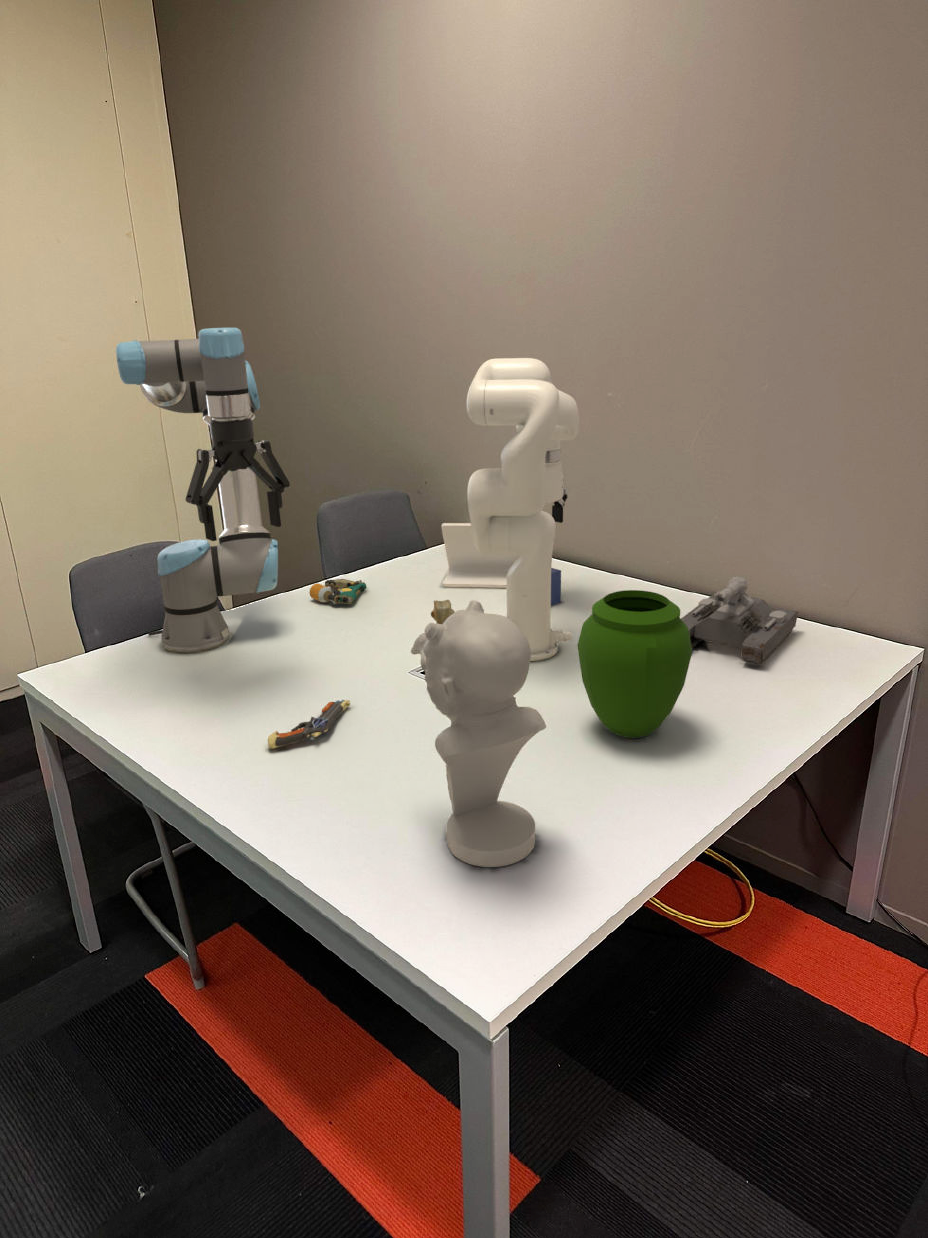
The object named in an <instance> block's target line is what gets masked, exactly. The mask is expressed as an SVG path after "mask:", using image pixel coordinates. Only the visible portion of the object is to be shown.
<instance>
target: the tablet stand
mask: <svg viewBox="0 0 928 1238" xmlns="http://www.w3.org/2000/svg"><path fill="white" fill-rule="evenodd" d="M441 533H442V538H443V543H444V548H445V549H444V550H445V554H446V558H447V565H448V571H447V573H446V575H445V576H444V579H443V580H442V587H445V588H450V587H451V588H490V589H491V588H492V589H494V588H495V589H497V588H498V589H502V588H503V589H507V573H508V571H509V569H510V567H511V566H512V565H513V563H514V562H515V561H516V560H517V559H518V558H519V556H517V555H505V554H485V553H481V552H479V551H478V550H477V549H476V548H475V545H474V542H473V537H472V530H471V523H470V522H462V523H461V522H443V523H442V524H441Z"/></svg>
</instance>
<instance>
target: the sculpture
mask: <svg viewBox="0 0 928 1238" xmlns="http://www.w3.org/2000/svg"><path fill="white" fill-rule="evenodd" d="M455 612H456V611H455V609H453V608H452V602H451V601H450V599H445V600H433V610H431V612H430V617H431V618H432V619H433V620H434V621H435V622H436V623H435V624H443V623H444V622H445V620H446V619H447V618H448V617H450V616H451V615H452V614H453V613H455Z"/></svg>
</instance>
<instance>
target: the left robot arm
mask: <svg viewBox="0 0 928 1238" xmlns="http://www.w3.org/2000/svg"><path fill="white" fill-rule="evenodd" d="M197 335H198V338H184V339H183V338H182V339H167V340H166V339H163V340H132V341H124V342H123V341H122V342H119V343H117V345H116V347H115V355H116V363H117V369H118V374H119V378H120V380H121V382H122V383H123V384H125V385H136V386H140V387H139V388H140V390H141V393H142V394H143V396H144V397H145V399H146V400H147V401H148V402H149V403H150V404H152V405H154V406H156V407H157V408H161V409H163V410H166V411H170V412H174V413H178V414H179V413H180V414H202V418H203V422H205V424H207V425H208V426H209V429H210V437H211V441H212V447H211V448H212V449H203V448H197V450H196V451H195V452H196V463H195V466H194V469H193V472H192V476H191V480H190V483H189V486H188V489H187V492H186V496H185V502H186V503H187V504H191V505H195V506H196V507H197V517H198V521H199V522H200V523H201V524H203V526H204V534H205V539H203V538H200V539H198V538H197V539H195V538H194V539H189V540H184V541H181V542H177V543H174V544H171V545H169V546H167V547H164V549H162V550H161V551H159V553H158V555H157V559H156V560H157V575H158V576H159V580H160V587H161V593H162V600H163V607H164V612H165V613H164V620H163V625H162V629H159V630H155V631H150V632H148V634H147V635H148V636H150V637H151V636H155V635H161V638H160V642H161V646H162V648H163V649H164V650H165V651H167V652H170V653H174V654H196V653H202V652H207V651H211V650H213V649H217V648H219V647H221V646H223V645H225V644H226V643H227V642H228V641H229V640H230V638H231V633H230V629H229V626H228V624H227V622H226V620H225V618H224V616H223V614H222V612H221V610H220V608H219V604H218V599H217V598H218V597H227V596H236V595H237V596H238V595H245V594H259V593H262V592H263V593H264V592H268V591H272V590H275V588H276V587H277V585H278V580H279V579H278V578H279V574H278V573H279V542H278V540H277V539H272V538H271V532H270V531H269V530H268V529H266V528H265V527H264V526H263V520H262V512H261V511H262V510H261V504H260V496H259V490H258V481H257V478H258V479H260V480H261V481H262V482H263V484H264V485H265V486H267V487H268V488H269V490H270V491H269V490H268V491H266V495H267V507H268V515H269V524H270V526H274V527H276V528H280V527H282V520H281V511H280V509H282V508H283V497H282V493H284V492H285V489H286V488H289V487H290V485H291V483H290V481H289V479H288V478H287V476H286V474H285V472H284V470H283V469H282V467H281V465H280V463H279V462H278V460H277V458H276V457H275V455H274V453H273V451H272V450H273V449H272V446H271V443H270V441H268V440H264V439H259V440H258V442H255V441H254V439H255V438H254V437H255V432H254V425H253V421H254V420H255V418H256V413H255V411H258V410H259V409H261V402H260V398H259V393H258V386H257V383H256V380H255V375H254V372H253V369H252V366H251V364H250V363H249V362H248V360H246V353H245V350H246V349H245V347H246V346H245V343H244V339H243V334H242V331H241V329H239V327H212V328H202V329H200V330H199V331H198V334H197ZM256 453H258V454H260V456H261V458H262V459H263V462H264V463H265V464H266V466H267V468H268V470H269V471H270V473H271V474H270V473H268V472H267V470H265V468H264V467H263V466H262V465H261V463H260V462H259V461H258V460H257V459H256V458H255V455H256ZM212 458H214V460H215V462H214V464H213V466H212V468H211V472H210V474H209V475H208V470H209V466H210V462H211V461H212ZM207 475H208V477H207ZM271 475H272V476H273V477H274V478H273V477H272V476H271ZM206 477H207V479H206ZM205 480H206V481H205ZM217 488H218V489H217ZM217 490H219V491H218V492H219V497H220V505H221V506H220V507H221V514H222V523H223V531H222V533H221V534H220V535H219V536H218V539H217V533H216V523H215V516H214V510H213V509H214V508H213V505H212V504H209V503H210V501H211V499H212V497H213V496H214V494H215V492H216V491H217ZM209 541H211V542H216V541H218V544H219V545H211V543H209Z"/></svg>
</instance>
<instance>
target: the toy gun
mask: <svg viewBox="0 0 928 1238" xmlns="http://www.w3.org/2000/svg"><path fill="white" fill-rule="evenodd" d="M348 707H351V700H349V699H346V700H345V699H341V700H336V701H329V702H328V703H327V704H326V705H325V706H324V707H323V708H322V709H321V714H320V715H319V716H317V717H314V716H311V717H310V719H309V721H303V722H300V723H298V725H296V726H294V727H293V728H292V729H291V731H288V732H281V733H280V732H279V731H278V730H275V731H273V732H272V733H271V734H269V735H268V737H267V745H268V748H269V749H277V748H280V747H284V746H287V745H291V744H294V743H297V742H301V741H304V740H308V739H310V738H313V737H314V738H317V737H318V736H321V735H322V734H324V733H326V732H328V730H330V728H332V727H333V725H334V723H335V720H336V719H337V718H338V717H339V716H340V714H341V713H342V712H343V711H345V709H346V708H348Z"/></svg>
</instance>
